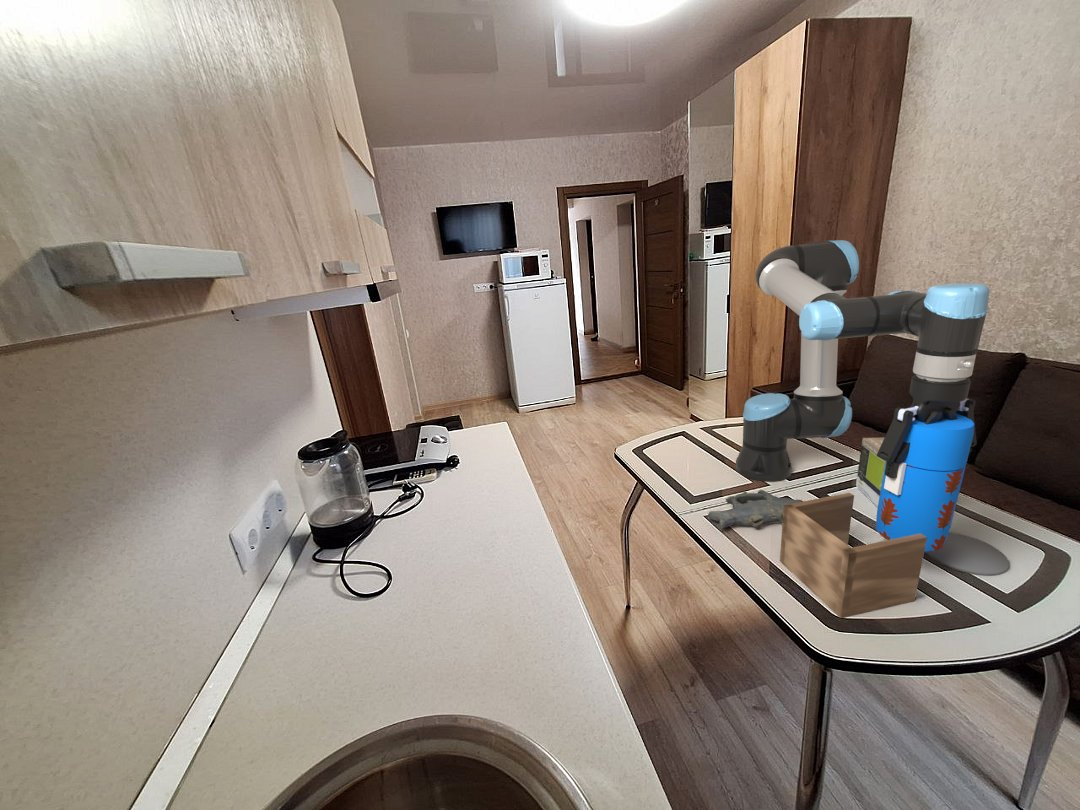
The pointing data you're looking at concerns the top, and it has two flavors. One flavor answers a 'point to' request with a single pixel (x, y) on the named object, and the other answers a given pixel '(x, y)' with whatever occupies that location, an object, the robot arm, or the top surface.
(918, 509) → the thermos
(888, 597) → the walnut cubby
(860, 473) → the tea box
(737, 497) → the stone fish figurine
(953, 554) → the coaster
